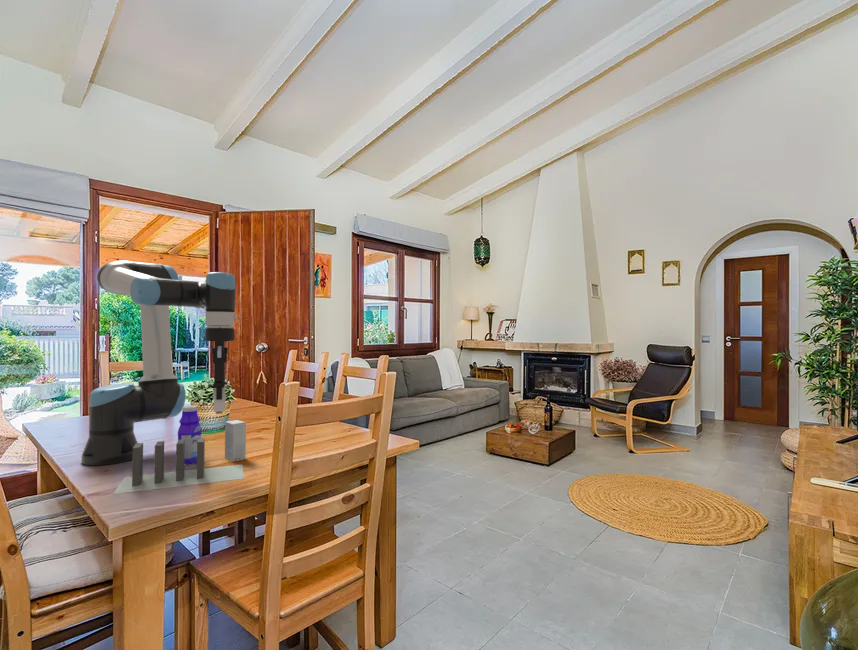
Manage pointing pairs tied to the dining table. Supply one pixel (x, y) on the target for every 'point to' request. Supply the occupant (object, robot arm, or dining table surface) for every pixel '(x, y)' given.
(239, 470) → the mat
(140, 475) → the domino
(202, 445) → the domino
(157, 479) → the domino
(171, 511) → the dining table surface
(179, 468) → the domino
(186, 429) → the bottle
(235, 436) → the skincare box
